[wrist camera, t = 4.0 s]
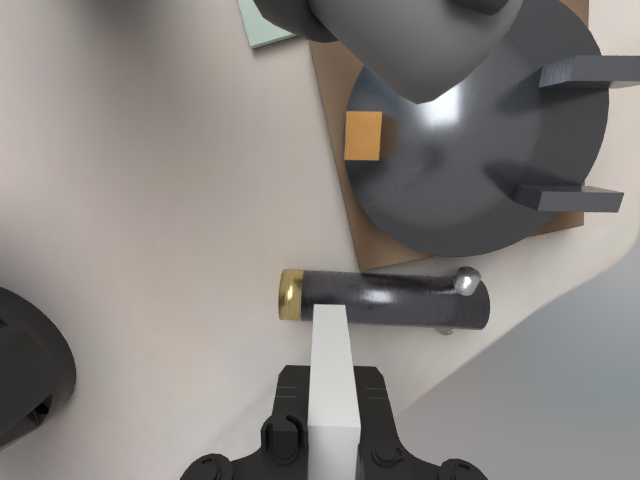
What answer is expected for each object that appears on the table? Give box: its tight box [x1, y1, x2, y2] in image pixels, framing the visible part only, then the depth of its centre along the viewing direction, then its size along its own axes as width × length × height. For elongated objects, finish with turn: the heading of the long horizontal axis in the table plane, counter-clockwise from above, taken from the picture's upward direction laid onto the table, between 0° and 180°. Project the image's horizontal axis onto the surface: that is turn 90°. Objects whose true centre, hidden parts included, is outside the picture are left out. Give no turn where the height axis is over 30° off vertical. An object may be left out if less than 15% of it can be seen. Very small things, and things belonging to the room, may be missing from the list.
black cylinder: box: [279, 267, 490, 335], centre depth 22 cm, size 6×4×14 cm
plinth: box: [309, 0, 589, 271], centre depth 20 cm, size 15×15×2 cm
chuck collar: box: [342, 0, 640, 257], centre depth 17 cm, size 14×14×4 cm
